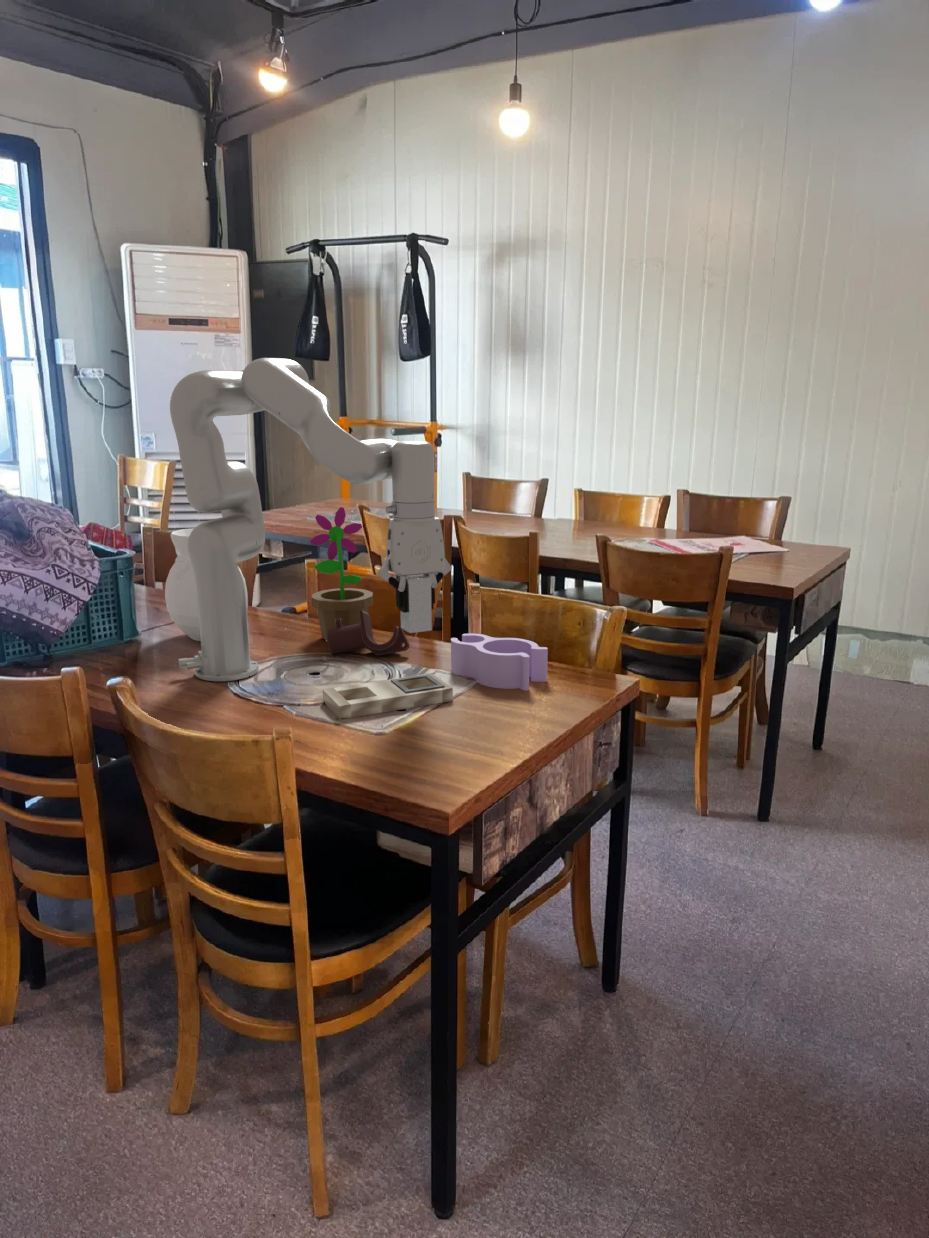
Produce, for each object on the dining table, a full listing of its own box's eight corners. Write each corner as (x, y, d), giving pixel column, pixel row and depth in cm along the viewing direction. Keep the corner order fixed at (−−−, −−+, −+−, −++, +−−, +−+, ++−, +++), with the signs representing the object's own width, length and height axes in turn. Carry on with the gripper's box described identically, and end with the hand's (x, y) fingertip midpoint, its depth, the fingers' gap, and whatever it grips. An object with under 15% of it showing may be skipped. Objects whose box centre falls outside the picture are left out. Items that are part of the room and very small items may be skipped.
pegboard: (339, 719, 162) (339, 704, 161) (323, 702, 170) (322, 687, 170) (452, 700, 171) (452, 686, 170) (431, 685, 180) (431, 671, 179)
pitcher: (152, 639, 213) (142, 532, 207) (214, 622, 228) (206, 522, 221) (205, 652, 203) (196, 540, 196) (267, 633, 217) (260, 529, 211)
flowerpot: (366, 627, 222) (362, 504, 215) (382, 642, 209) (378, 511, 202) (307, 632, 218) (301, 507, 210) (320, 648, 205) (313, 515, 197)
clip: (438, 675, 186) (438, 642, 184) (475, 660, 196) (475, 629, 194) (519, 694, 174) (520, 660, 173) (554, 678, 184) (555, 645, 182)
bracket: (406, 648, 195) (399, 602, 197) (330, 663, 197) (323, 617, 198) (412, 650, 201) (404, 606, 203) (338, 665, 203) (331, 621, 204)
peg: (409, 633, 167) (408, 579, 164) (400, 627, 171) (399, 575, 168) (431, 630, 169) (431, 577, 166) (422, 624, 173) (421, 572, 170)
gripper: (376, 516, 157) (379, 619, 162) (465, 510, 164) (465, 609, 169) (362, 511, 164) (365, 610, 169) (448, 505, 171) (448, 600, 176)
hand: (415, 608), depth 169 cm, fingers closed on peg, 4 cm apart
